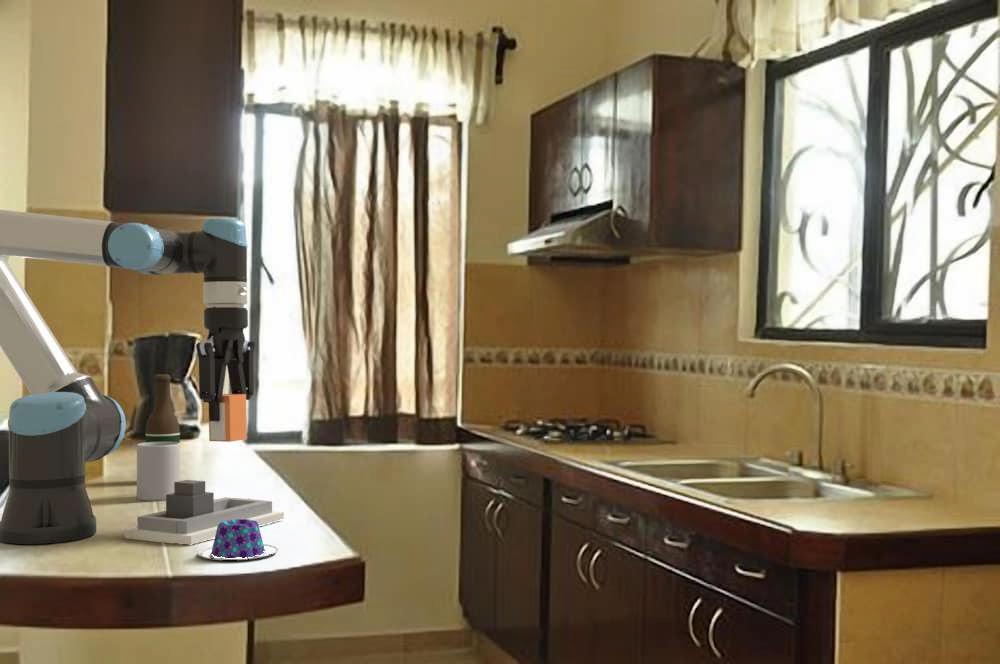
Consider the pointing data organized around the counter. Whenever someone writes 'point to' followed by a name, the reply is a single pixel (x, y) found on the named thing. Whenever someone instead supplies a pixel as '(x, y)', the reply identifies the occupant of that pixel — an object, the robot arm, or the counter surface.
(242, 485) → the counter surface
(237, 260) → the robot arm
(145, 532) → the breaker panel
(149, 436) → the beer bottle
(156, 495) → the mug
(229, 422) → the block
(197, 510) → the handle
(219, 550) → the pudding
